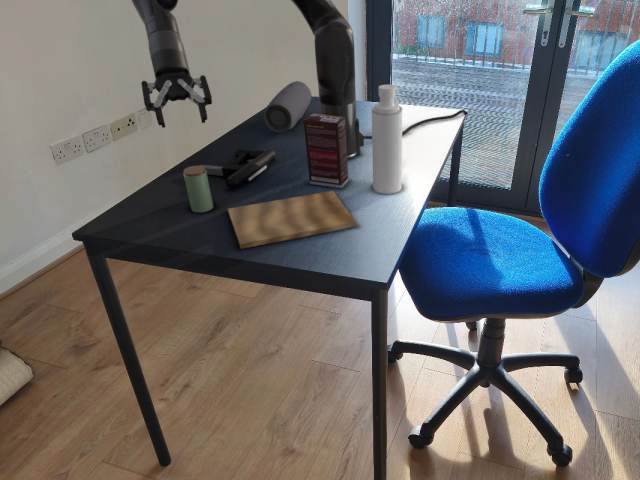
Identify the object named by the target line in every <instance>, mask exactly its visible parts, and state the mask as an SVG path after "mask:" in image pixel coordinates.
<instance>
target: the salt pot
mask: <svg viewBox="0 0 640 480" xmlns="http://www.w3.org/2000/svg"><path fill="white" fill-rule="evenodd" d="M182 176H183V179H184V183H185V184H184V185H185V188H186V193H187V198H188V202H189V205H190V209H191V211H192V212H193V213H198V214H199V213H206V212H209V211H211V210H212V209H213V208H214V201H213V197H212V191H211V187H210V182H209V178H208V177H209V176H208V174H207V172H206V170H205V168H204V167H202V166H199V165H191V166H188V167H186V168H184V169H183V173H182Z"/></svg>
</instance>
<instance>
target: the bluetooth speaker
mask: <svg viewBox="0 0 640 480" xmlns="http://www.w3.org/2000/svg"><path fill="white" fill-rule="evenodd" d="M311 101H312V91H311V89H310V88H309V86H308V85H307V84H306V83H304V82H302V81H298V80H296V81H292V82H290V83H288V84H287V85H286V86H285V87H284V88H282V89H281V90H280V91H278V93H277V94H276V95H275V96H274V97H273V98H272V99H271V101H269V103H268V104H267V106H266V107H265V110H264V113H263V121H264V123H265V125H266V126H267V128H268V129H269V130H270V131H272V132H274V133H280V134H281V133H285V132H288V131H289V130H291V129H293V128H294V127H295V125H296V124H297V123H298V121H300V119H301V118H302V117H303V115H305V112H306V111H307V109H308V108H309V106H310V104H311Z"/></svg>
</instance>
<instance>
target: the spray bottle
mask: <svg viewBox="0 0 640 480" xmlns="http://www.w3.org/2000/svg"><path fill="white" fill-rule="evenodd" d="M395 97H396V86H395V85H393V84H381V85H378V98H379V102H376V103H375V104H374V105H373V106H372V107H371V136H372V139H371V142H372V143H371V145H372V147H371V148H372V150H371V151H372V188H373V191H375V192H376V193H379V194H384V195H392V194H396V193H398V192H400V191H401V190H402V179H403V178H402V176H403V175H402V174H403V173H402V170H403V168H402V167H403V165H402V164H403V161H402V160H403V136H402V132H403V107H402V106H401V105H400V104H399V103H397V102H395Z"/></svg>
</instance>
